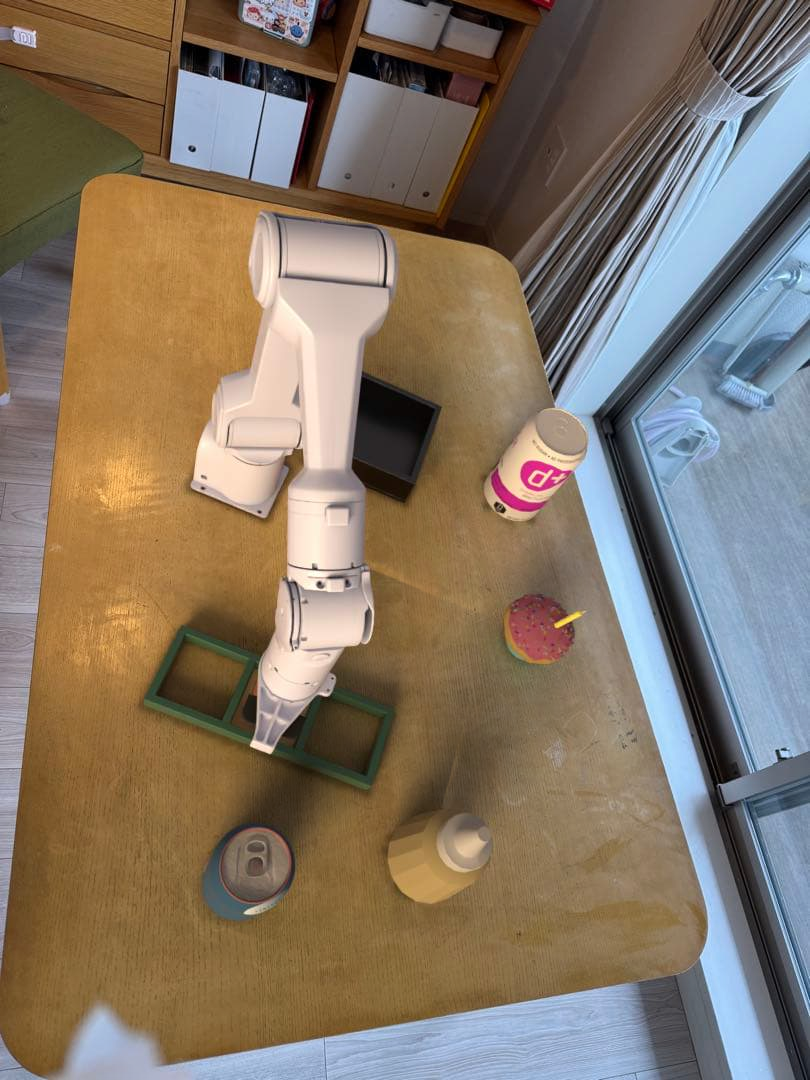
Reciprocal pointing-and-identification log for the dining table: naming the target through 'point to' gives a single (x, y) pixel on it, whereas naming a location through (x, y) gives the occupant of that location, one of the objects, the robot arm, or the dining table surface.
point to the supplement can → (536, 464)
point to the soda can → (248, 872)
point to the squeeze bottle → (439, 853)
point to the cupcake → (539, 629)
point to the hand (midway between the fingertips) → (277, 700)
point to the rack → (246, 731)
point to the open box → (391, 436)
